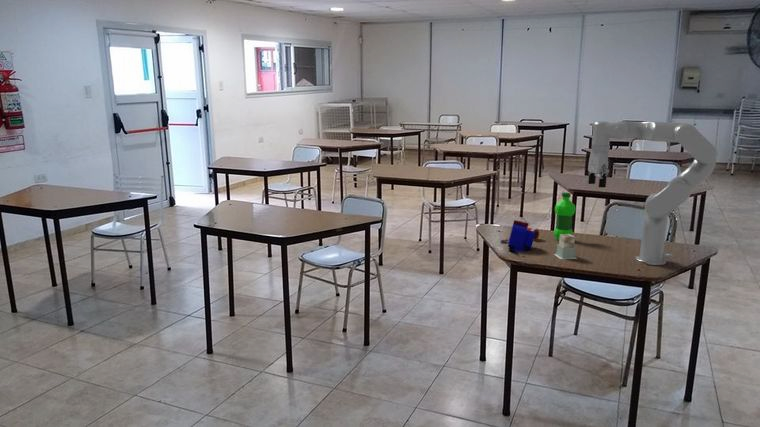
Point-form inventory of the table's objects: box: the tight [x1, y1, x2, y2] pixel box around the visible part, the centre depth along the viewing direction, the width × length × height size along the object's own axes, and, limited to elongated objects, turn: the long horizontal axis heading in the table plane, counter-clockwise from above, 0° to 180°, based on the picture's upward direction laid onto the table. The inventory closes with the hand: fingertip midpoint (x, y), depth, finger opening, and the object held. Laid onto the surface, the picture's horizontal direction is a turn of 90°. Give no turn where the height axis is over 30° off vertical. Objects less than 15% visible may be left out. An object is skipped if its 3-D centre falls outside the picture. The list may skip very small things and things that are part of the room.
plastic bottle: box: [553, 192, 577, 242], centre depth 293 cm, size 10×10×25 cm
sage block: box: [555, 243, 576, 258], centre depth 262 cm, size 6×6×5 cm
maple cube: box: [558, 234, 576, 248], centre depth 261 cm, size 5×5×5 cm
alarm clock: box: [507, 219, 535, 254], centre depth 275 cm, size 12×12×15 cm
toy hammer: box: [500, 226, 540, 244], centre depth 295 cm, size 23×12×6 cm, turn 127°
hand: (596, 185), depth 264 cm, fingers open, 9 cm apart
